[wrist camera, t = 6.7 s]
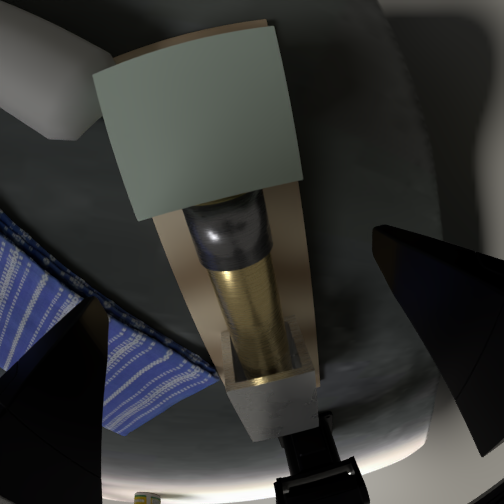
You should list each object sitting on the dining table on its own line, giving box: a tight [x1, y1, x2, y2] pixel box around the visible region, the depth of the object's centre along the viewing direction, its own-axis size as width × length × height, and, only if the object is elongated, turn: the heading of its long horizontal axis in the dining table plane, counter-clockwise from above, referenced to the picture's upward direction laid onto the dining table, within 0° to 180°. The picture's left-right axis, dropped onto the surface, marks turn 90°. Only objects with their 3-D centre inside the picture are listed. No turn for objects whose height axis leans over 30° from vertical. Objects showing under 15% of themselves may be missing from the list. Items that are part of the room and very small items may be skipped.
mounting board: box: [113, 19, 320, 387], centre depth 19 cm, size 28×8×1 cm, turn 12°
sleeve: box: [221, 315, 319, 442], centre depth 20 cm, size 8×5×5 cm, turn 12°
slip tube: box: [182, 189, 293, 380], centre depth 15 cm, size 16×4×4 cm, turn 12°
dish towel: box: [0, 209, 219, 436], centre depth 19 cm, size 17×24×3 cm
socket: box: [92, 26, 303, 221], centre depth 11 cm, size 6×6×5 cm
